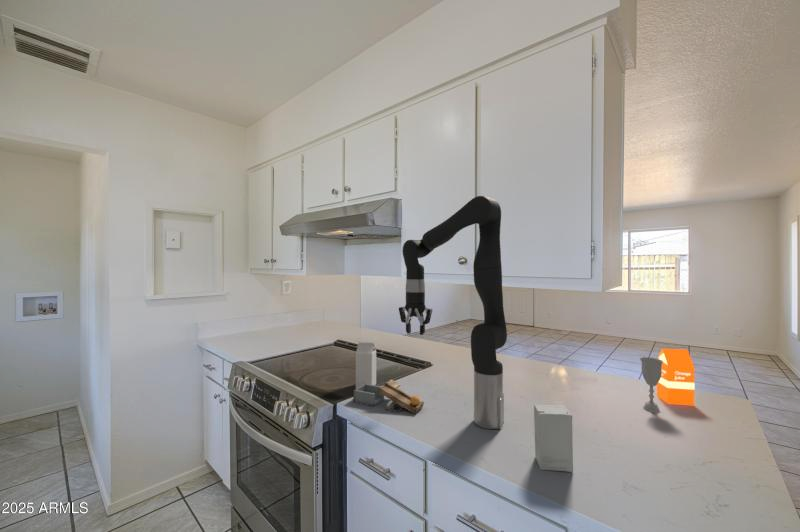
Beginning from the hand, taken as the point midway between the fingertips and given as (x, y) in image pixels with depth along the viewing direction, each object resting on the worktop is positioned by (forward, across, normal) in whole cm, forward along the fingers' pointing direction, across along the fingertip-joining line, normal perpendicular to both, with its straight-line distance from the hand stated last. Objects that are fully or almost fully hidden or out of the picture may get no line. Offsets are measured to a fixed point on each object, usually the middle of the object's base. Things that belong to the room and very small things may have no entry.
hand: (415, 333), depth 131 cm
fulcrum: (+25, +3, +10) cm, 27 cm away
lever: (+23, +2, +7) cm, 24 cm away
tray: (+25, +15, +10) cm, 31 cm away
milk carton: (+26, +24, -2) cm, 35 cm away
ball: (+22, -4, +10) cm, 25 cm away
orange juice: (+26, -91, -43) cm, 104 cm away
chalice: (+26, -81, -29) cm, 90 cm away
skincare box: (+26, -50, +24) cm, 61 cm away
